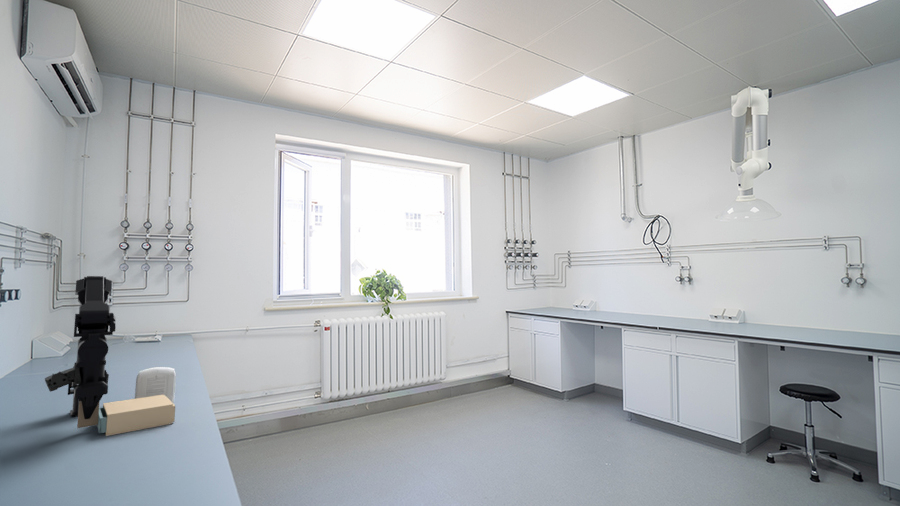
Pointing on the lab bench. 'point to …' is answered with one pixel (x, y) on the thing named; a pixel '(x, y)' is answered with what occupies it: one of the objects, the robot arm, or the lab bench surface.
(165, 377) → the white product package
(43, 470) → the lab bench surface
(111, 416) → the sleeve
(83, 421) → the tray
